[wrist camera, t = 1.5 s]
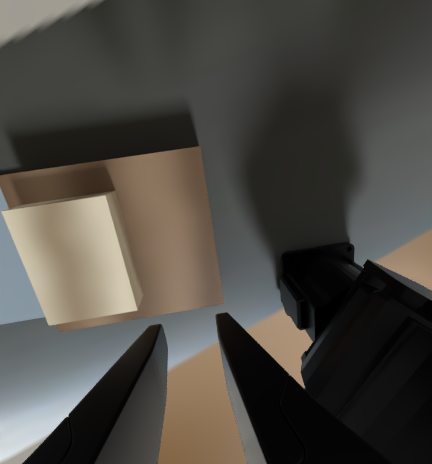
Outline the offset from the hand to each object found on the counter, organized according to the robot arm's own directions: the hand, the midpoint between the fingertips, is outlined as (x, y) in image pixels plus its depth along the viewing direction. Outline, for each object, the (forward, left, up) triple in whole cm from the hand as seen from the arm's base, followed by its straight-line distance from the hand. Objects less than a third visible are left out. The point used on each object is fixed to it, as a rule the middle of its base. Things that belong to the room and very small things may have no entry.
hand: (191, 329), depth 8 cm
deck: (+5, 0, -13) cm, 14 cm away
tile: (+7, 0, -10) cm, 12 cm away
